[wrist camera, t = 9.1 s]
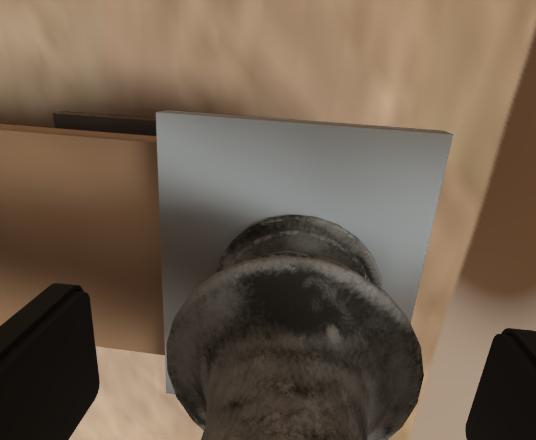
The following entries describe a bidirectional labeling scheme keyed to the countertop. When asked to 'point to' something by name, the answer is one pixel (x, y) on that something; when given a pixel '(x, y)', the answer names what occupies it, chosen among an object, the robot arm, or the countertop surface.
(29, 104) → the countertop surface
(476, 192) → the countertop surface
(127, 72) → the countertop surface
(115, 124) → the beam stand
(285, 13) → the countertop surface
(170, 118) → the beam
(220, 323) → the chess piece
